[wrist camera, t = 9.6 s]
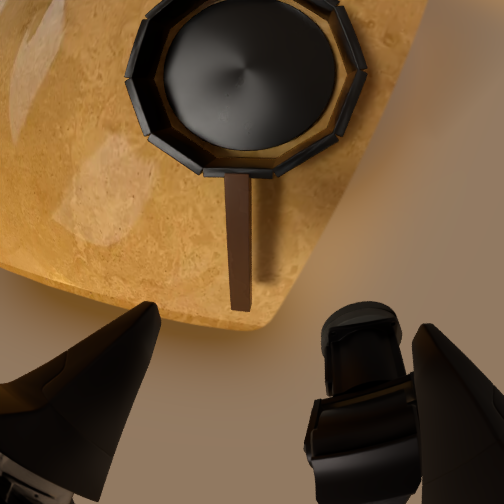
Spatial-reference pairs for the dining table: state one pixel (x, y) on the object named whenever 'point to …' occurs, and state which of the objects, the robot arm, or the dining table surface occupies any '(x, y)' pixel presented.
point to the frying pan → (243, 96)
